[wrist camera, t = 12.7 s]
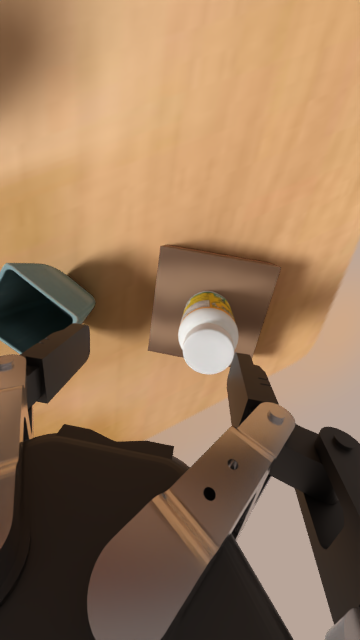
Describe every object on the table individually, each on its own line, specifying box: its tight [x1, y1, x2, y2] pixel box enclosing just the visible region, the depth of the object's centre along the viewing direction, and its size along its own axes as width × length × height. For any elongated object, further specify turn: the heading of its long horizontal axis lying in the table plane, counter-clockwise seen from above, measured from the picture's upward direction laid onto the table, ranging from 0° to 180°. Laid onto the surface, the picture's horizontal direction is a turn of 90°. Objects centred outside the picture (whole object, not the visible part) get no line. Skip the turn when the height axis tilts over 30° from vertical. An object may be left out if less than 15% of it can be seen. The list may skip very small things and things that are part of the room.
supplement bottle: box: [178, 291, 238, 374], centre depth 22 cm, size 5×5×10 cm
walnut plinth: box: [148, 245, 281, 367], centre depth 28 cm, size 13×13×4 cm
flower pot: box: [0, 263, 95, 354], centre depth 28 cm, size 9×9×9 cm
